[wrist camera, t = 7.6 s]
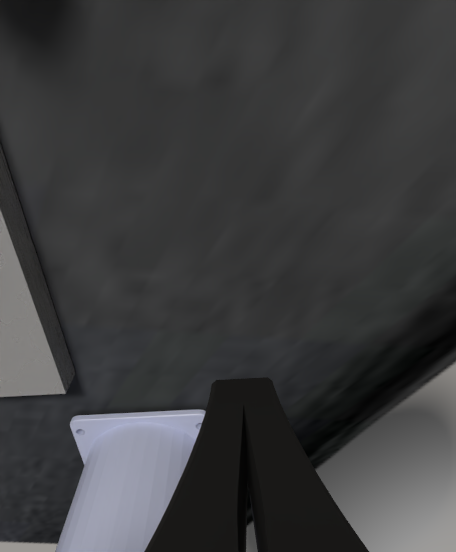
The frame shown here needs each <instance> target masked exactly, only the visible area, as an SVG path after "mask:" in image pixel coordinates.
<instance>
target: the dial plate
mask: <svg viewBox="0 0 456 552" xmlns="http://www.w3.org/2000/svg"><path fill="white" fill-rule="evenodd" d="M74 375H75V370H74V367H73V364H72V361H71V358H70V355H69V352H68V348H67V345H66V342H65V339H64V336H63V333H62V330H61V327H60V324H59V321H58V318H57V315H56V312H55V309H54V306H53V303H52V300H51V297H50V294H49V290H48V287H47V284H46V281H45V278H44V275H43V272H42V269H41V266H40V263H39V260H38V257H37V254H36V251H35V248H34V245H33V242H32V239H31V236H30V232H29V229H28V226H27V223H26V220H25V217H24V214H23V211H22V208H21V205H20V202H19V199H18V196H17V193H16V190H15V187H14V184H13V181H12V177H11V174H10V171H9V168H8V165H7V162H6V159H5V156H4V153H3V150H2V147H1V144H0V397H9V396H29V395H48V394H66V392H67V390H68V388H69V386H70V384H71V382H72V379H73V377H74Z"/></svg>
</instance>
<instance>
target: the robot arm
mask: <svg viewBox="0 0 456 552" xmlns="http://www.w3.org/2000/svg"><path fill="white" fill-rule="evenodd" d="M198 423H202V424H198ZM70 427H71V430H72V433H73V435H74V438H75V441H76V443H77V446H78V449H79V452H80V454H81V457H82V460H83V462H84V465H85V466H84V469H83V472H82V475H81V478H80V481H79V484H78V487H77V489H76V492H75V495H74V498H73V501H72V504H71V507H70V510H69V513H68V516H67V519H66V522H65V525H64V528H63V531H62V533H61V536H60V539H59V542H58V545H57V548H56V551H55V552H246V526H247V485H248V487H249V494H250V501H251V508H252V515H253V522H254V528H255V535H256V542H257V549H258V552H369V551H368V550H367V548H366V547H365V545H364V544H363V542H362V541H361V540H360V538H359V537H358V535H357V534H356V533H355V531H354V530H353V528H352V527H351V525H350V524H349V523H348V521H347V520H346V518H345V517H344V515H343V514H342V512H341V511H340V509H339V508H338V506H337V505H336V503H335V502H334V500H333V498H332V497H331V495H330V494H329V492H328V490H327V489H326V487H325V486H324V484H323V483H322V481H321V479H320V478H319V476H318V474H317V473H316V471H315V469H314V467H313V466H312V464H311V462H310V460H309V459H308V457H307V455H306V453H305V451H304V450H303V448H302V446H301V444H300V442H299V441H298V439H297V437H296V435H295V433H294V431H293V429H292V427H291V425H290V423H289V421H288V419H287V417H286V415H285V413H284V411H283V408H282V406H281V404H280V401H279V399H278V396H277V394H276V391H275V388H274V385H273V382H272V380H270V379H269V378H249V379H229V380H216V381H215V382H214V383H213V384H212V387H211V393H210V397H209V402H208V405H207V409H206V411H204V410H200V409H197V410H177V411H157V412H137V413H118V414H98V415H79V416H75V417H73V418H72V420H71V423H70Z"/></svg>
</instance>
